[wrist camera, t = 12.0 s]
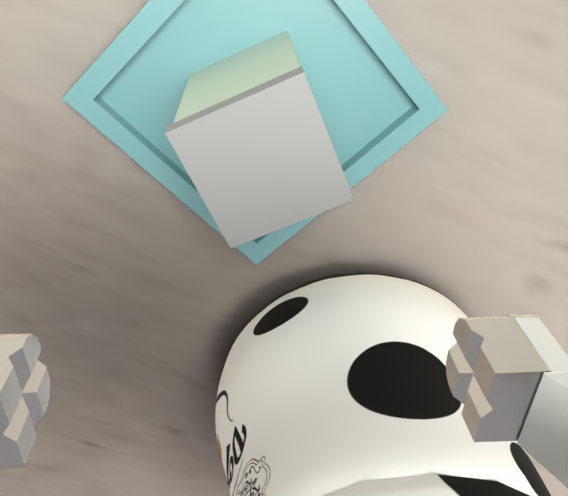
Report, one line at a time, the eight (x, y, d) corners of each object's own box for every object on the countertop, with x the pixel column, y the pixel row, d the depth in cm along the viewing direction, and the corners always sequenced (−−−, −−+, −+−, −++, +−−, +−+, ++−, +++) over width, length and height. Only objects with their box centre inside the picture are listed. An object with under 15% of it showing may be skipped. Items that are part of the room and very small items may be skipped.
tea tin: (234, 166, 28) (230, 248, 21) (186, 73, 26) (165, 133, 19) (327, 127, 27) (354, 199, 21) (288, 27, 25) (304, 71, 18)
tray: (255, 251, 32) (256, 264, 31) (70, 90, 26) (62, 98, 25) (439, 101, 28) (448, 110, 27) (264, -128, 22) (265, -130, 21)
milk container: (167, 374, 37) (110, 704, 21) (345, 196, 30) (445, 486, 15) (348, 470, 43) (403, 774, 28) (525, 341, 37) (720, 643, 22)
